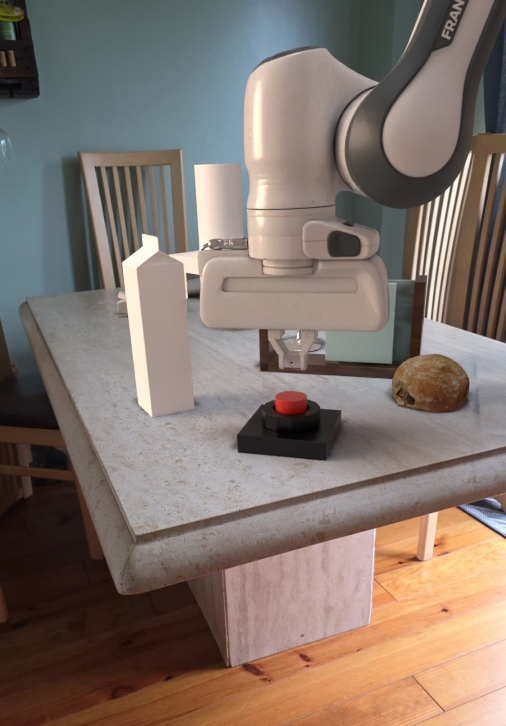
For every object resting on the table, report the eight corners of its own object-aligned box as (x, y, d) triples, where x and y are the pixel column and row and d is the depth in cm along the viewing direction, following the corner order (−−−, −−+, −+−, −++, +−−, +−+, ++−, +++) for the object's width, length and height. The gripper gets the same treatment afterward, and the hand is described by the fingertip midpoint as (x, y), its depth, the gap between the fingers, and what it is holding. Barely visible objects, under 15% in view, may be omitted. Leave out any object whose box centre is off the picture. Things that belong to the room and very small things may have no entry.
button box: (340, 426, 75) (341, 395, 74) (325, 461, 67) (326, 427, 65) (261, 420, 78) (261, 390, 77) (237, 453, 70) (235, 419, 68)
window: (392, 362, 93) (399, 253, 86) (391, 363, 92) (398, 254, 86) (326, 358, 96) (328, 253, 89) (325, 360, 95) (326, 253, 88)
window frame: (419, 368, 96) (427, 275, 90) (417, 380, 91) (425, 282, 85) (269, 360, 102) (268, 273, 97) (259, 371, 97) (257, 279, 91)
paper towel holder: (219, 304, 146) (211, 163, 133) (172, 295, 158) (161, 166, 146) (276, 292, 157) (274, 162, 144) (228, 285, 170) (222, 164, 157)
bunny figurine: (118, 303, 130) (112, 283, 143) (120, 326, 133) (115, 305, 145) (162, 299, 133) (153, 280, 145) (164, 322, 135) (155, 301, 148)
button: (309, 406, 72) (309, 391, 71) (303, 417, 69) (303, 402, 68) (279, 404, 73) (279, 389, 72) (271, 414, 70) (271, 400, 69)
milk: (179, 397, 87) (165, 231, 78) (195, 410, 82) (183, 235, 74) (137, 404, 85) (118, 235, 76) (151, 418, 80) (133, 238, 71)
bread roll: (383, 421, 86) (370, 376, 81) (424, 375, 90) (414, 330, 85) (446, 440, 79) (436, 394, 74) (487, 390, 83) (481, 342, 78)
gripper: (184, 242, 63) (195, 372, 69) (389, 239, 58) (382, 381, 63) (206, 235, 69) (215, 357, 74) (394, 232, 63) (388, 363, 69)
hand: (293, 368), depth 69 cm, fingers closed
